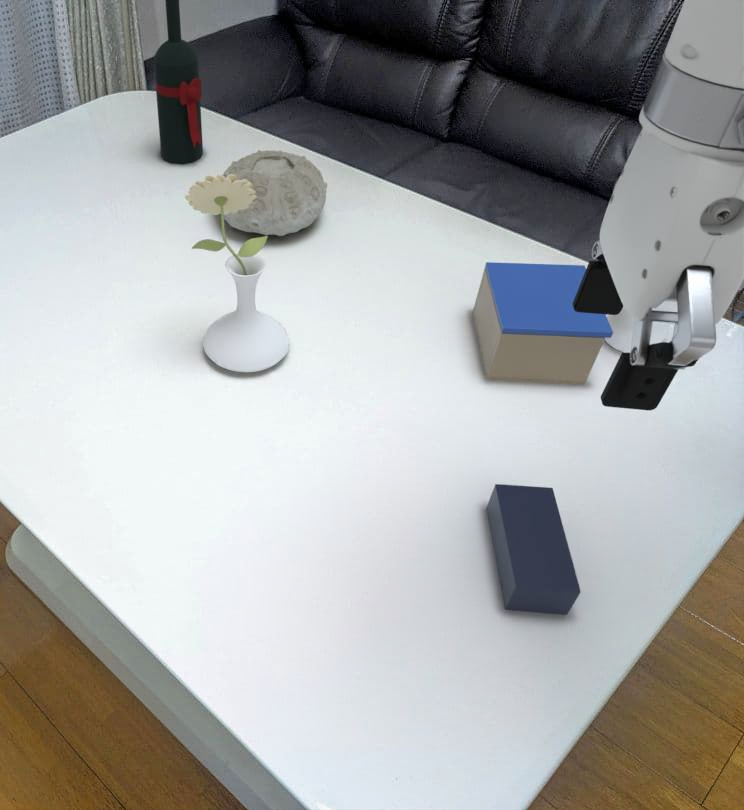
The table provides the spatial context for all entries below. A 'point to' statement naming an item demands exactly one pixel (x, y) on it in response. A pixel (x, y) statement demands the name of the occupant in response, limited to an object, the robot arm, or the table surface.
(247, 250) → the flower in vase
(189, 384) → the table surface
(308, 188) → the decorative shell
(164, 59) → the wine bottle
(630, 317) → the water bottle
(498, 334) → the container
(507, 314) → the container lid
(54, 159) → the table surface
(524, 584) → the case
